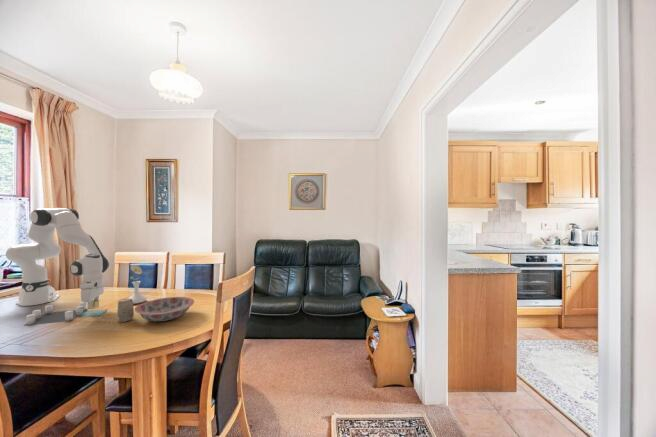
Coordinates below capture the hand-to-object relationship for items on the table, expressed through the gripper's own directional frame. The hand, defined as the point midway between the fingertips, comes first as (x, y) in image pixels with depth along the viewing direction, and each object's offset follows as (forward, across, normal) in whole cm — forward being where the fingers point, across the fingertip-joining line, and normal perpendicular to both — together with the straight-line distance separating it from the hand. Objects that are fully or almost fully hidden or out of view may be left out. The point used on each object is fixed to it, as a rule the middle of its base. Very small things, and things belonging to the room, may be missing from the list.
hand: (93, 305), depth 163 cm
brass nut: (+1, 0, 0) cm, 1 cm away
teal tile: (+5, 0, 0) cm, 5 cm away
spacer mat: (+5, 0, -16) cm, 17 cm away
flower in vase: (+5, -17, +17) cm, 25 cm away
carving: (+6, +18, +21) cm, 28 cm away
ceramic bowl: (+6, +21, +41) cm, 46 cm away
